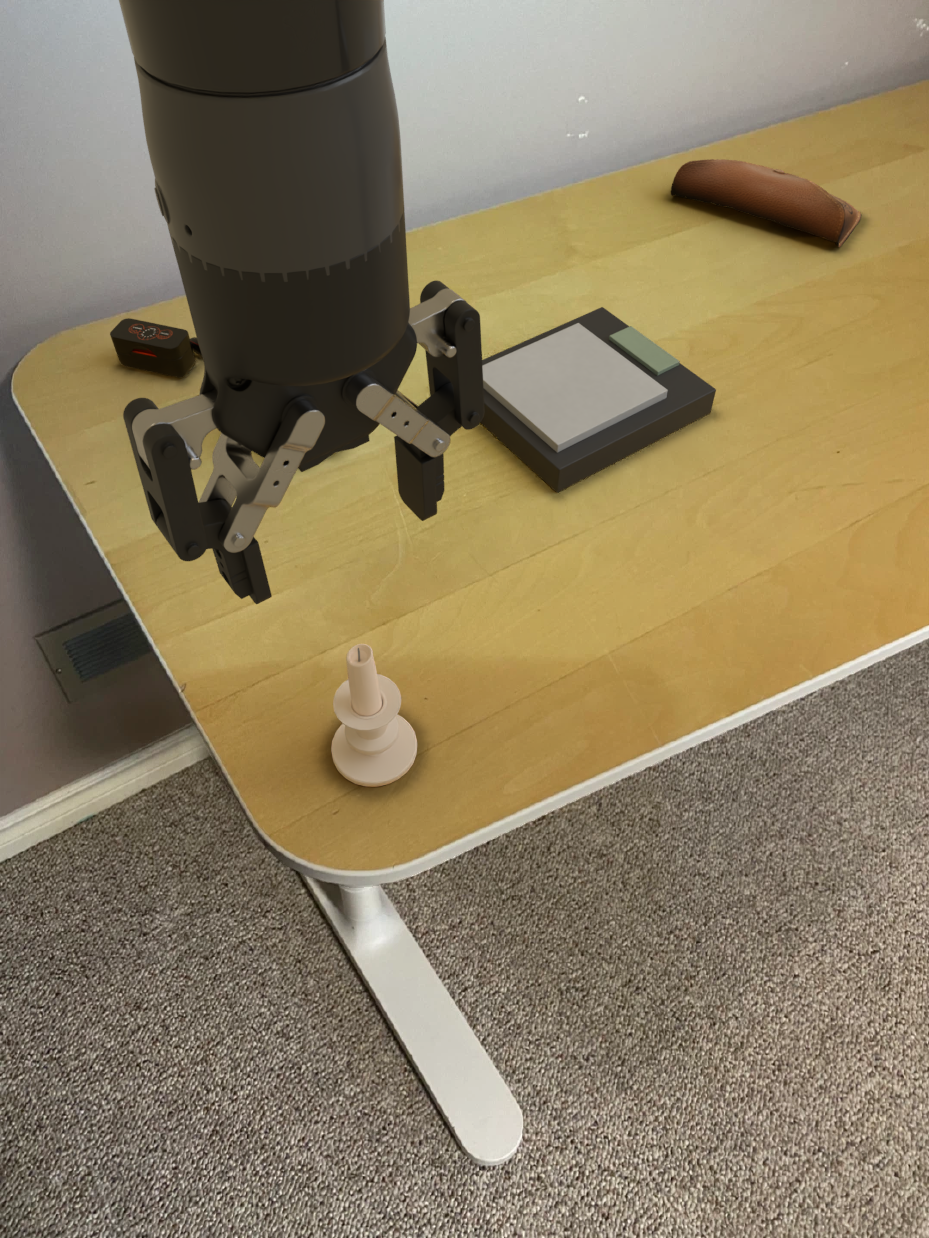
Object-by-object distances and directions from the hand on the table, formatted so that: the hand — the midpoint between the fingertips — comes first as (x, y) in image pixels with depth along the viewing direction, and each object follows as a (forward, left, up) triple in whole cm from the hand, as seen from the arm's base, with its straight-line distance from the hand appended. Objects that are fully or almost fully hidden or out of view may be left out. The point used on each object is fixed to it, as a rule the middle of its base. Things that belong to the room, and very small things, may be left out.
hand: (339, 546), depth 43 cm
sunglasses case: (-67, -32, -19) cm, 76 cm away
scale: (-32, -19, -19) cm, 41 cm away
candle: (-1, -1, -19) cm, 19 cm away
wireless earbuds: (-7, -44, -19) cm, 48 cm away
